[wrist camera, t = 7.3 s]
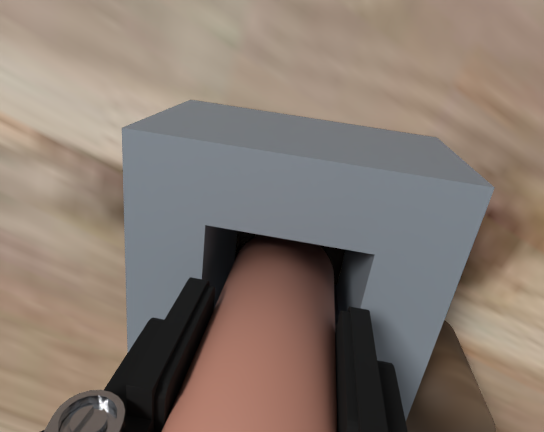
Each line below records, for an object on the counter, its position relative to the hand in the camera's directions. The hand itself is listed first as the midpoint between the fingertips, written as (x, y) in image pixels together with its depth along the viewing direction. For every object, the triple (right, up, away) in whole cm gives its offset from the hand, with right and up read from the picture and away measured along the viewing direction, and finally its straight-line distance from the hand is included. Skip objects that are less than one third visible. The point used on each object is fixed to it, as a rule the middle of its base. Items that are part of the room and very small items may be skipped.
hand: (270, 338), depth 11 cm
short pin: (+7, -3, +8) cm, 11 cm away
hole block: (+1, +3, +7) cm, 7 cm away
